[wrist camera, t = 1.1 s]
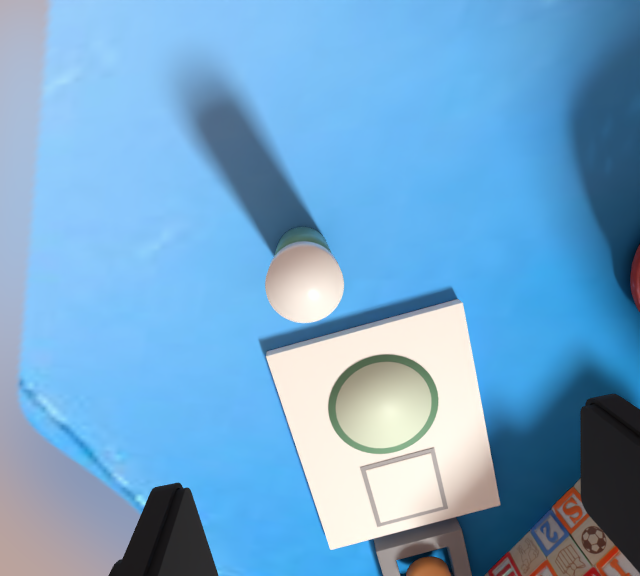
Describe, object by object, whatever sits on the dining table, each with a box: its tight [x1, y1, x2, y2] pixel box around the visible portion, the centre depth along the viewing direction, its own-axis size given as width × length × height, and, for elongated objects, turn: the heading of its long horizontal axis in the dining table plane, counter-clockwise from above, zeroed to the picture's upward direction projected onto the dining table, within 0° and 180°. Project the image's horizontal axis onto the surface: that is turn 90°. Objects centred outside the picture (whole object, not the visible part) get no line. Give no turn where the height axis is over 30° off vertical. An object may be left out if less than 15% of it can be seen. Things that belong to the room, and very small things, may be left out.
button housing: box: [374, 517, 472, 576], centre depth 40 cm, size 8×8×2 cm
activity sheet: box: [266, 299, 500, 550], centre depth 36 cm, size 16×20×1 cm
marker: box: [265, 227, 344, 323], centre depth 27 cm, size 4×4×10 cm
